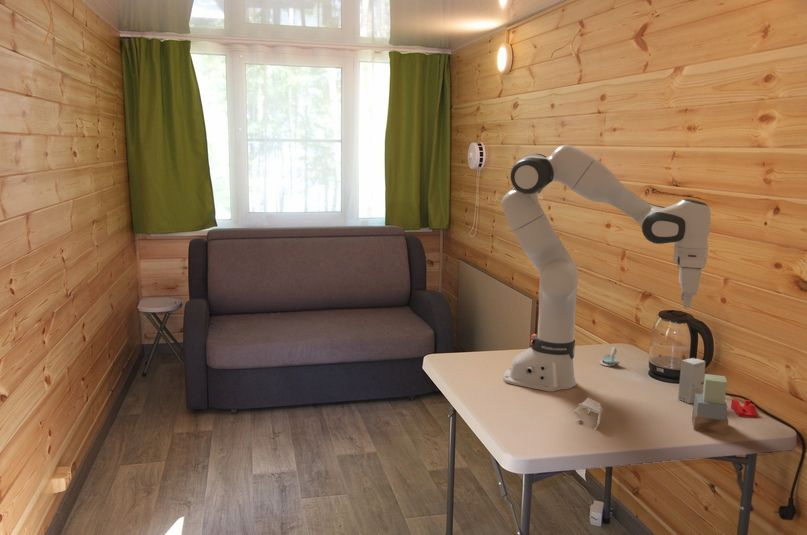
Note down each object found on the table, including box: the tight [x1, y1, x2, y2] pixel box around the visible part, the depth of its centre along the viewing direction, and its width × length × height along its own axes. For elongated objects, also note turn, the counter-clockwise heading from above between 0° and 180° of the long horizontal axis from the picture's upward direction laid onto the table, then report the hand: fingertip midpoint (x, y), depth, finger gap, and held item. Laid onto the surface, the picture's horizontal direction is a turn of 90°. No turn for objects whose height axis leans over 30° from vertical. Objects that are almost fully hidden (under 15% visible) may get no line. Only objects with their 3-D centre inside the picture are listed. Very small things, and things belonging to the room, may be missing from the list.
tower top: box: [693, 394, 728, 421], centre depth 181 cm, size 7×7×4 cm
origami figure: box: [571, 397, 604, 430], centre depth 183 cm, size 12×8×5 cm
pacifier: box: [599, 346, 620, 367], centre depth 231 cm, size 7×6×6 cm
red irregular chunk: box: [730, 398, 758, 419], centre depth 192 cm, size 6×5×3 cm
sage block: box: [703, 373, 728, 404], centre depth 180 cm, size 5×5×6 cm
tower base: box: [691, 405, 730, 435], centre depth 182 cm, size 8×8×4 cm
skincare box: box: [677, 357, 706, 404], centre depth 200 cm, size 6×4×12 cm
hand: (685, 304), depth 195 cm, fingers open, 8 cm apart
